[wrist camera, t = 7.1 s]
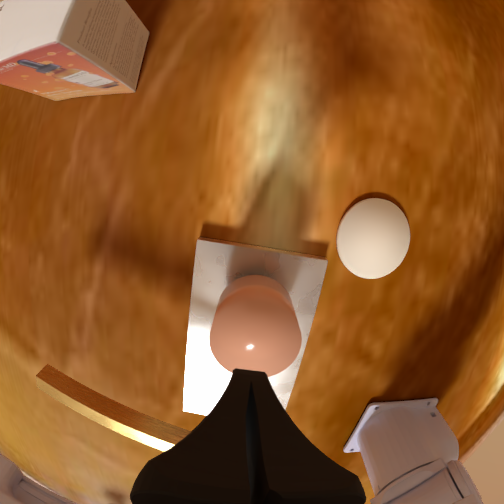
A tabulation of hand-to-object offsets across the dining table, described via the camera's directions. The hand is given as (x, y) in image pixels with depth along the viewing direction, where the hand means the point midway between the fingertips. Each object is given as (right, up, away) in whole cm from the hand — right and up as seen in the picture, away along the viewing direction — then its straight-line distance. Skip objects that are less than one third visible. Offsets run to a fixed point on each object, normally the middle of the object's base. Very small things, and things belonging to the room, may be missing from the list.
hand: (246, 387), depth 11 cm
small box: (-12, +21, +6) cm, 24 cm away
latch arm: (-7, -5, +5) cm, 10 cm away
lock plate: (0, -2, +11) cm, 11 cm away
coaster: (+9, +7, +9) cm, 15 cm away
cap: (0, +2, +7) cm, 7 cm away
